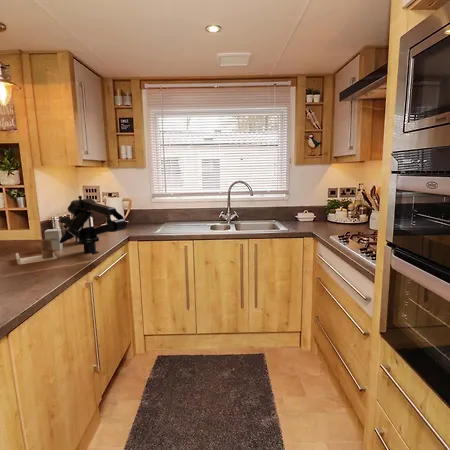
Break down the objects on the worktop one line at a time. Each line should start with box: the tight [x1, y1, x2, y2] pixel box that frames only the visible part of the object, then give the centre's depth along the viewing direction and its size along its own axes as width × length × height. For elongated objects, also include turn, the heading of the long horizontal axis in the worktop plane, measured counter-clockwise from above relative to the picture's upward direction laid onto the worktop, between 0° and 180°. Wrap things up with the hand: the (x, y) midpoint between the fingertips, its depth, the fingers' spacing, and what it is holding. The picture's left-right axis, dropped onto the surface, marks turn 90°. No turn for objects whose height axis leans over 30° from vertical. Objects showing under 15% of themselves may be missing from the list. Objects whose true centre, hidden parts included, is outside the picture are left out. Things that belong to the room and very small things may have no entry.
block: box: [39, 238, 54, 259], centre depth 166 cm, size 4×4×9 cm
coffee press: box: [69, 195, 94, 245], centre depth 203 cm, size 17×16×30 cm
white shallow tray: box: [15, 252, 58, 265], centre depth 164 cm, size 17×13×4 cm
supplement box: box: [44, 228, 64, 252], centre depth 183 cm, size 7×7×13 cm
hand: (60, 242), depth 169 cm, fingers closed
